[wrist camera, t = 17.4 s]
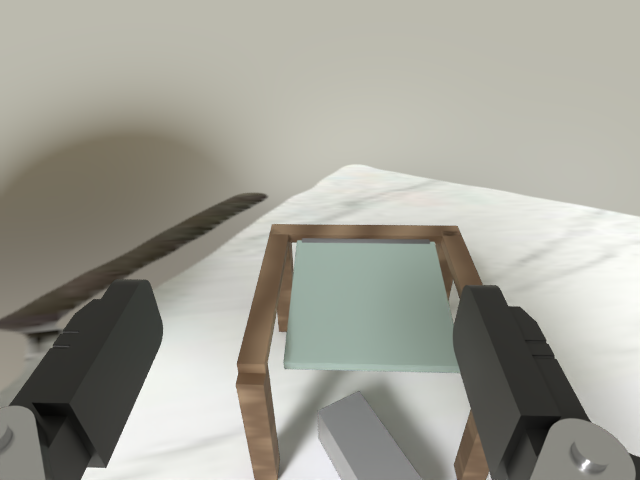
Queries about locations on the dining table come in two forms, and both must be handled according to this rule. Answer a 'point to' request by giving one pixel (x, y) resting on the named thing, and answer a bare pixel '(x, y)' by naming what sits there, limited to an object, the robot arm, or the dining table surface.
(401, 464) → the grey rectangular block
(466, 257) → the trapdoor frame
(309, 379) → the dining table surface
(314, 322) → the trapdoor
